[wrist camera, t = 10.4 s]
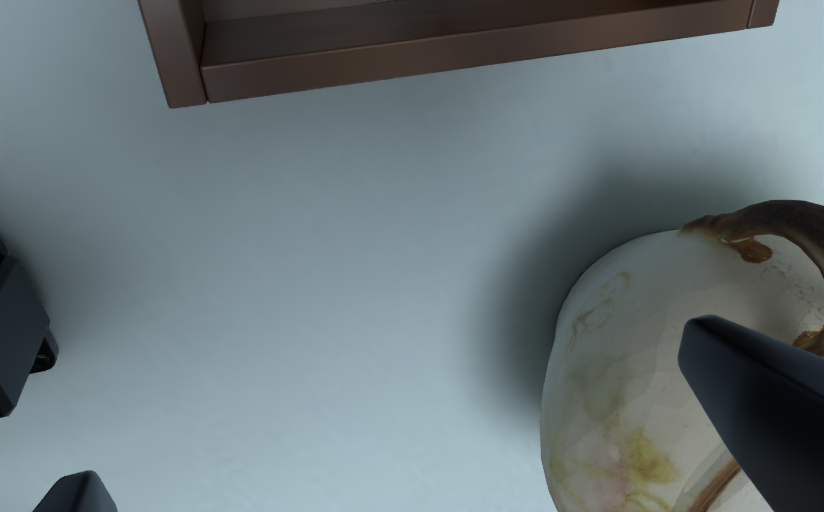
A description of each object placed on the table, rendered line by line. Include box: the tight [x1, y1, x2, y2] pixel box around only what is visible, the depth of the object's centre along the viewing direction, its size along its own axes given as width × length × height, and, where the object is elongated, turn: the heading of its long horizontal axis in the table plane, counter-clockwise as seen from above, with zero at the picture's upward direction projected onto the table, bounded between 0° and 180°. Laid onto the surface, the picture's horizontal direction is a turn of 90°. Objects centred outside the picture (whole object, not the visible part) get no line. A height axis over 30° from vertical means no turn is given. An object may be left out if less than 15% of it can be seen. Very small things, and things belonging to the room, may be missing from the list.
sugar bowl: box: [540, 200, 824, 512], centre depth 20 cm, size 20×15×15 cm
